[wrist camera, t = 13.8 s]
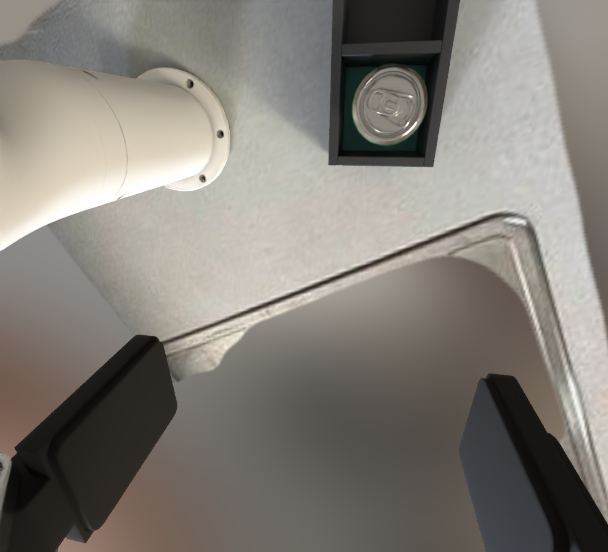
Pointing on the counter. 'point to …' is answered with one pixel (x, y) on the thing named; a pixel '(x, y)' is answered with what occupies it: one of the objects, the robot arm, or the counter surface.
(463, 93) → the counter surface
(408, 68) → the soda can
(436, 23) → the two-compartment grey tray
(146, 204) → the counter surface
